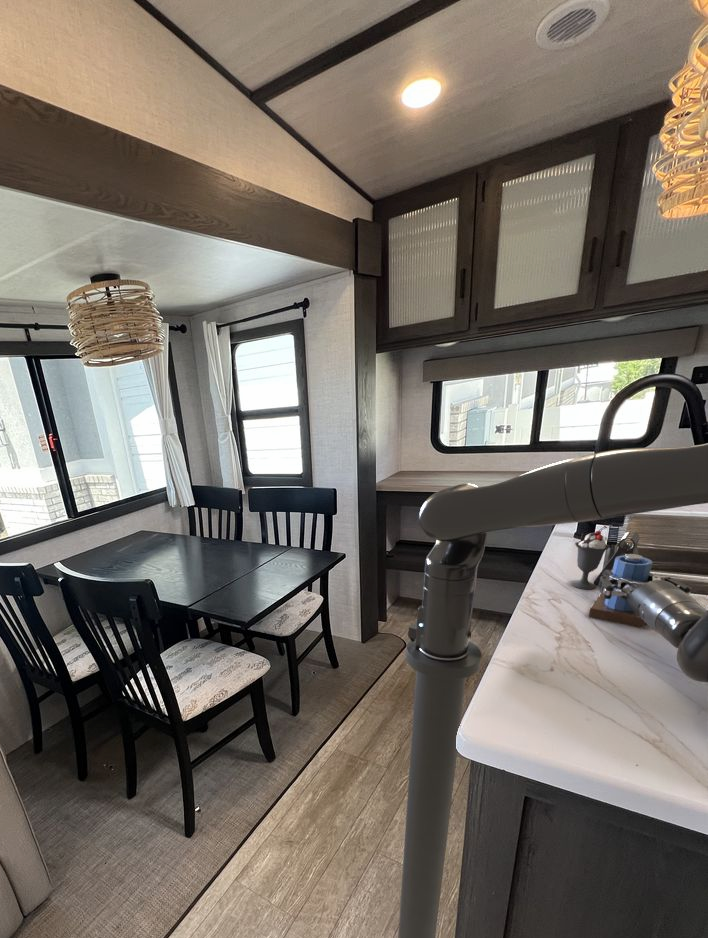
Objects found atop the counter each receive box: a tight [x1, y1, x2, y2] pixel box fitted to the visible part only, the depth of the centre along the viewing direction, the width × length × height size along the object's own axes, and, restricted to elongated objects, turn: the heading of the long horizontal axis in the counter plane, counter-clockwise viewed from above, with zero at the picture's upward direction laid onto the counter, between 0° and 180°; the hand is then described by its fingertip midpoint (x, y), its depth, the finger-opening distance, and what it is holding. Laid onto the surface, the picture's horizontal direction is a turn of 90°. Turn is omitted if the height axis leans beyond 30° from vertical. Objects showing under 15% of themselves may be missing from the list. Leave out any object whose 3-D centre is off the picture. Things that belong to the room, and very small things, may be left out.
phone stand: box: [592, 531, 640, 586], centre depth 108 cm, size 9×6×12 cm, turn 46°
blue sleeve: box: [605, 554, 654, 612], centre depth 94 cm, size 6×6×10 cm
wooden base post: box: [588, 553, 646, 629], centre depth 95 cm, size 9×9×13 cm
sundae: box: [570, 525, 611, 590], centre depth 109 cm, size 7×7×15 cm
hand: (623, 574), depth 96 cm, fingers closed on blue sleeve, 5 cm apart
